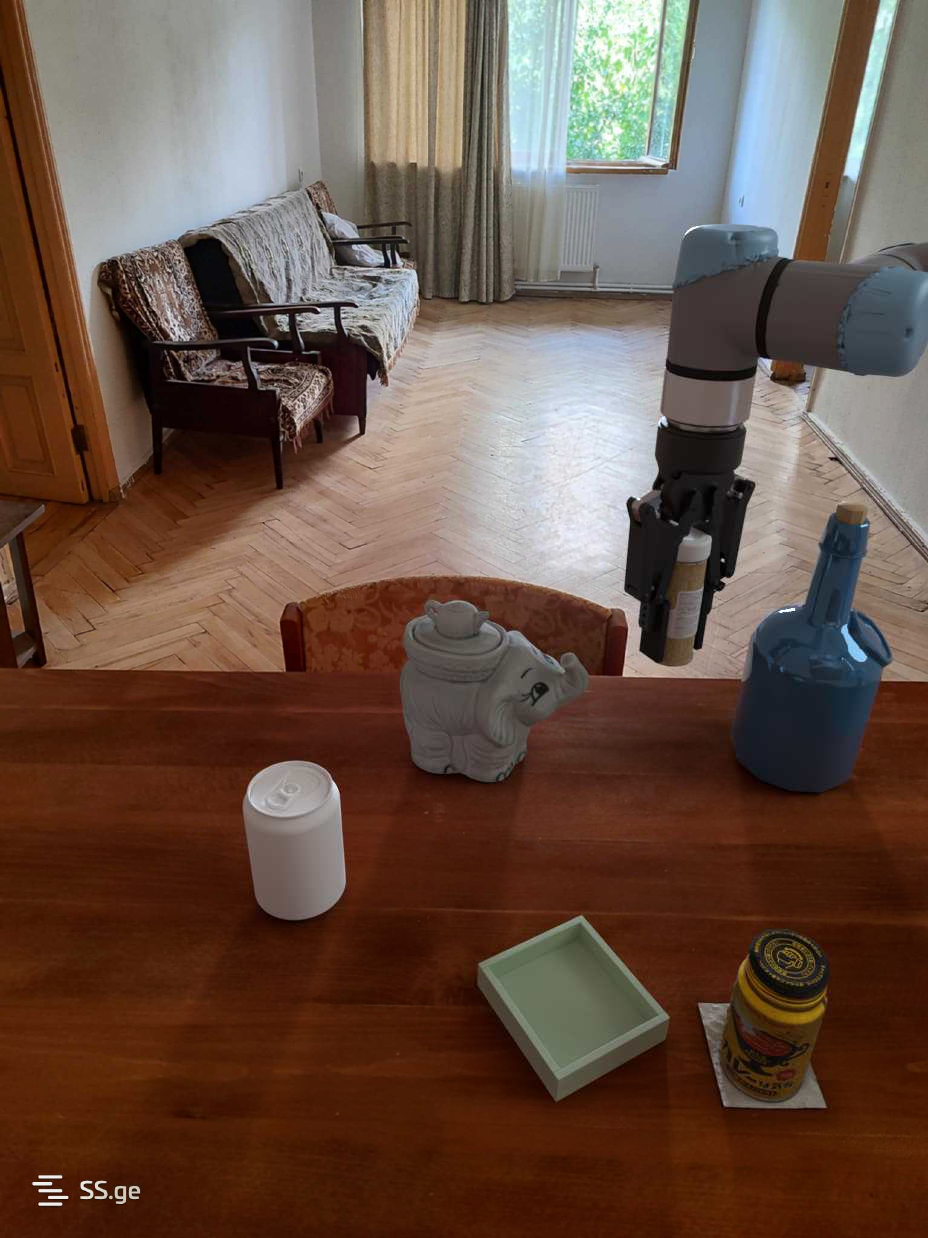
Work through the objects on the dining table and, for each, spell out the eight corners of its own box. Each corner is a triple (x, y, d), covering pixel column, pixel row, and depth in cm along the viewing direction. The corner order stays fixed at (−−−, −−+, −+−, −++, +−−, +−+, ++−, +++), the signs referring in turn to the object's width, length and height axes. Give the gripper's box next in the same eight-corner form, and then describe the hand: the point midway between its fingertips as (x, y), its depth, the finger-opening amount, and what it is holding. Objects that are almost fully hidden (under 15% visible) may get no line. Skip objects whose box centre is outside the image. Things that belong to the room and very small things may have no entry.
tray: (665, 1039, 67) (670, 1018, 66) (555, 1102, 63) (558, 1080, 62) (579, 936, 76) (581, 914, 75) (477, 985, 71) (477, 963, 70)
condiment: (723, 1108, 63) (753, 998, 57) (697, 1004, 70) (721, 897, 64) (826, 1110, 63) (866, 1000, 57) (789, 1005, 70) (821, 898, 64)
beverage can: (363, 878, 81) (357, 777, 75) (307, 939, 75) (296, 834, 69) (295, 845, 85) (284, 746, 79) (236, 901, 79) (219, 798, 73)
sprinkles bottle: (639, 648, 90) (654, 526, 83) (681, 643, 91) (698, 521, 84) (659, 671, 86) (675, 545, 79) (701, 666, 87) (721, 540, 80)
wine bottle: (723, 782, 94) (778, 521, 79) (731, 712, 105) (780, 472, 90) (861, 811, 90) (945, 543, 75) (854, 736, 101) (927, 489, 86)
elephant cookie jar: (584, 776, 94) (601, 624, 85) (467, 829, 87) (470, 669, 78) (496, 700, 106) (502, 559, 97) (386, 741, 99) (381, 593, 90)
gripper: (745, 396, 83) (709, 613, 95) (595, 422, 76) (577, 654, 87) (807, 417, 77) (762, 645, 89) (652, 447, 70) (624, 692, 81)
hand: (670, 649), depth 88 cm, fingers closed on sprinkles bottle, 4 cm apart
